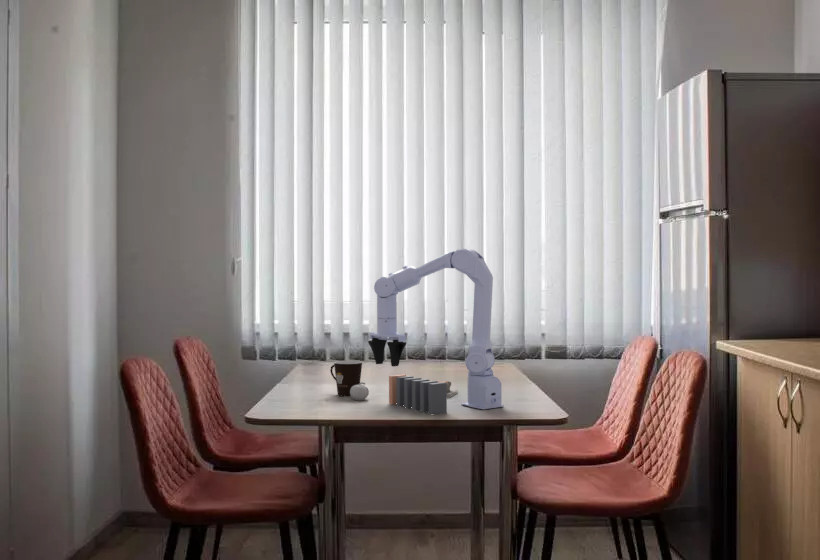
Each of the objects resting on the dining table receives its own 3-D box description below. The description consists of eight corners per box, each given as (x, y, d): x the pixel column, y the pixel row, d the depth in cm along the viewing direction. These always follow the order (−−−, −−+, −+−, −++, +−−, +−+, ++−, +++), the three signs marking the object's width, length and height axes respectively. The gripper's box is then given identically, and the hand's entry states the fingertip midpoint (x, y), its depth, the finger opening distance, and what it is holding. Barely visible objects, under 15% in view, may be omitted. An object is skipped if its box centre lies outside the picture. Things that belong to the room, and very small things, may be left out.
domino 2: (413, 404, 208) (413, 376, 208) (399, 406, 205) (399, 377, 205) (410, 404, 209) (410, 375, 209) (396, 405, 206) (396, 377, 206)
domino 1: (406, 403, 211) (406, 375, 211) (392, 404, 208) (392, 376, 208) (403, 402, 212) (402, 374, 212) (389, 403, 210) (389, 375, 209)
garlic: (373, 399, 218) (373, 381, 218) (362, 402, 213) (362, 384, 213) (357, 397, 221) (356, 380, 221) (345, 400, 216) (345, 382, 216)
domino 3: (421, 406, 205) (421, 378, 205) (407, 408, 202) (407, 379, 202) (418, 405, 206) (418, 377, 206) (404, 407, 203) (404, 378, 203)
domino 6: (446, 412, 195) (446, 382, 195) (432, 414, 193) (431, 384, 193) (443, 412, 197) (442, 382, 197) (428, 414, 194) (428, 383, 194)
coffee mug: (366, 396, 223) (365, 363, 223) (338, 397, 220) (338, 364, 220) (354, 390, 234) (354, 359, 234) (328, 392, 231) (328, 360, 231)
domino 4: (429, 408, 202) (429, 379, 202) (415, 410, 199) (415, 381, 199) (426, 407, 203) (426, 378, 203) (412, 409, 200) (411, 380, 200)
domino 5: (438, 410, 198) (437, 381, 198) (423, 412, 196) (423, 382, 196) (434, 409, 200) (434, 380, 200) (420, 411, 197) (420, 382, 197)
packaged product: (393, 380, 225) (404, 376, 235) (393, 396, 225) (404, 391, 235) (449, 383, 220) (458, 378, 229) (450, 399, 220) (458, 394, 229)
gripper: (413, 318, 212) (413, 366, 212) (382, 317, 223) (382, 361, 223) (394, 319, 207) (394, 368, 207) (363, 317, 218) (363, 363, 218)
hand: (387, 365), depth 215 cm, fingers open, 7 cm apart
